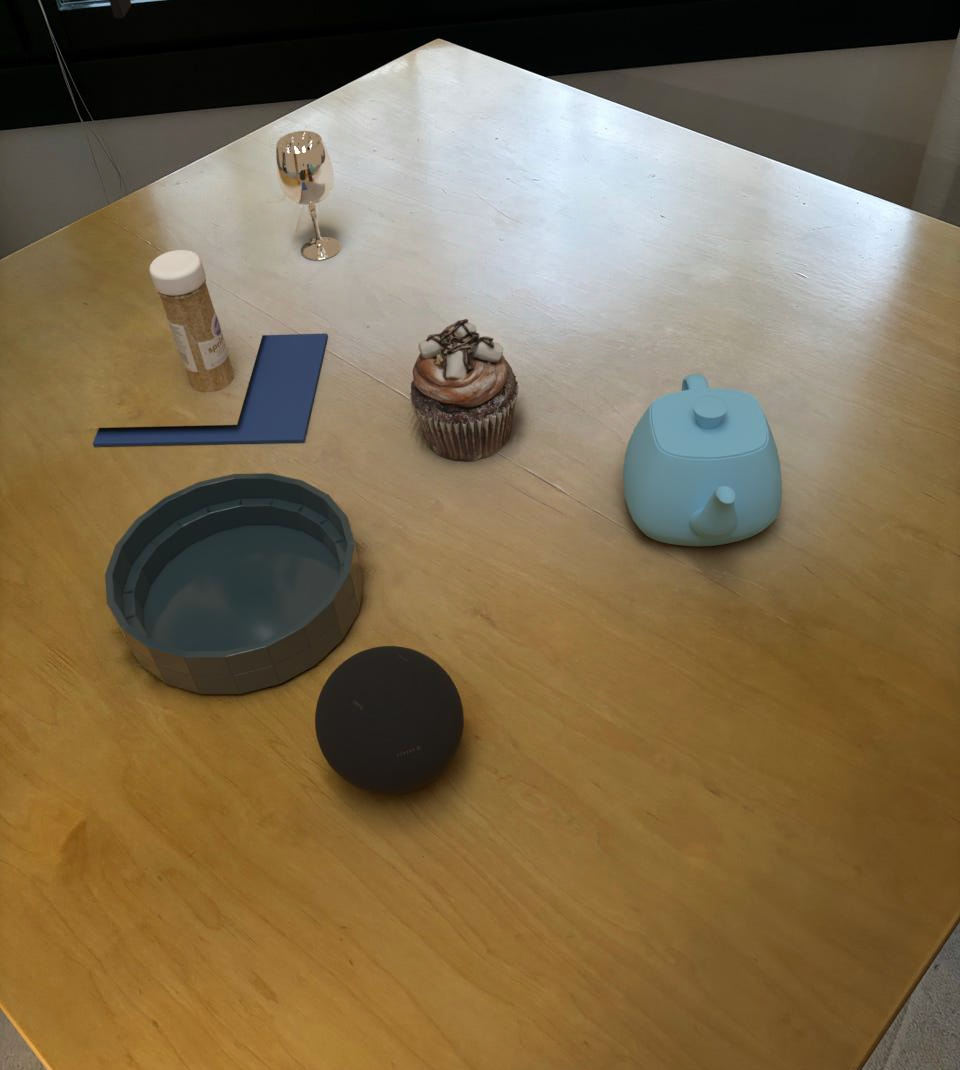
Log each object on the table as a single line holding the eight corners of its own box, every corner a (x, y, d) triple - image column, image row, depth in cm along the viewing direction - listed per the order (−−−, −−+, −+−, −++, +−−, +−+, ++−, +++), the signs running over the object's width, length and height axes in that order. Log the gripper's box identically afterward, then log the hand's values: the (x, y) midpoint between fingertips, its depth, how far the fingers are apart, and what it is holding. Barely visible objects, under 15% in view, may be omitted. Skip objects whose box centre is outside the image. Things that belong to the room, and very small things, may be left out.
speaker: (379, 682, 81) (359, 596, 73) (494, 734, 77) (485, 649, 69) (301, 784, 76) (270, 702, 68) (420, 845, 72) (402, 766, 64)
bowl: (98, 697, 82) (75, 657, 78) (157, 517, 94) (139, 475, 90) (347, 697, 80) (336, 656, 76) (375, 514, 92) (366, 471, 88)
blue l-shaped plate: (93, 447, 100) (92, 443, 100) (135, 342, 110) (134, 338, 110) (304, 442, 98) (303, 439, 98) (328, 336, 108) (327, 333, 108)
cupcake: (393, 438, 98) (378, 346, 90) (466, 384, 102) (457, 292, 94) (469, 483, 94) (460, 391, 86) (542, 426, 98) (539, 333, 90)
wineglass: (357, 242, 119) (338, 135, 109) (325, 268, 116) (303, 161, 107) (316, 229, 121) (294, 123, 112) (284, 255, 118) (259, 149, 109)
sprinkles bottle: (239, 396, 103) (201, 271, 92) (192, 405, 102) (148, 281, 92) (235, 367, 105) (198, 243, 95) (189, 376, 105) (147, 252, 95)
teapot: (642, 502, 76) (617, 346, 87) (635, 601, 84) (613, 447, 95) (822, 491, 75) (774, 336, 86) (797, 592, 83) (756, 438, 95)
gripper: (-266, -286, 73) (-111, 42, 90) (87, -314, 71) (178, 27, 88) (-217, -311, 78) (-78, 5, 95) (116, -339, 76) (198, -11, 93)
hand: (45, 16), depth 91 cm, fingers open, 13 cm apart
